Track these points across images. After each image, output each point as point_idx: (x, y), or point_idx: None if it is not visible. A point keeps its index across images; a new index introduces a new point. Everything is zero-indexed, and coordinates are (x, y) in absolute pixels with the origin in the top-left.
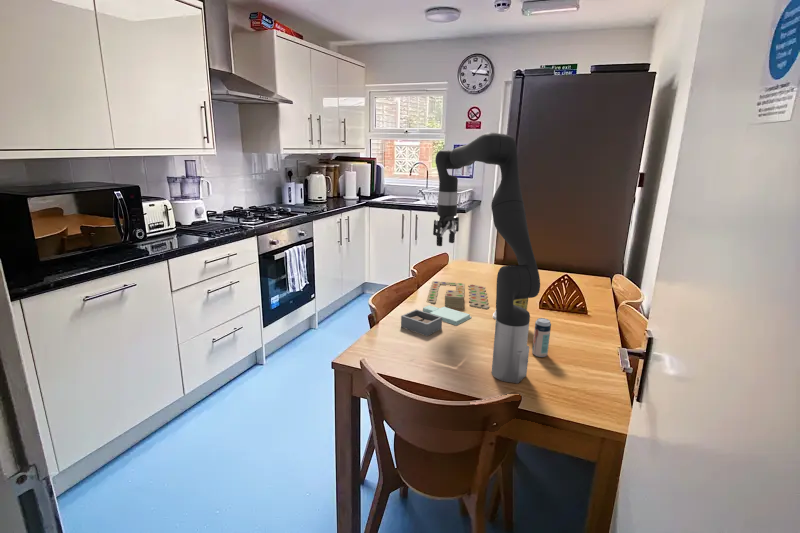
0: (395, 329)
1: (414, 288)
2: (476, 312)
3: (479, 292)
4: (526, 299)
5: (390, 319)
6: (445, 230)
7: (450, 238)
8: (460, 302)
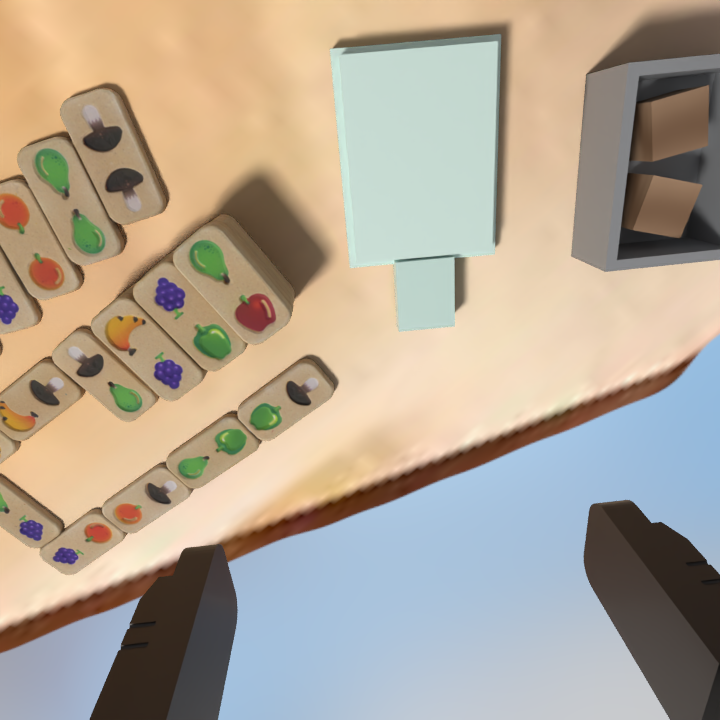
0: None
1: None
2: (213, 104)
3: None
4: None
5: (623, 353)
6: None
7: (214, 663)
8: (234, 231)
